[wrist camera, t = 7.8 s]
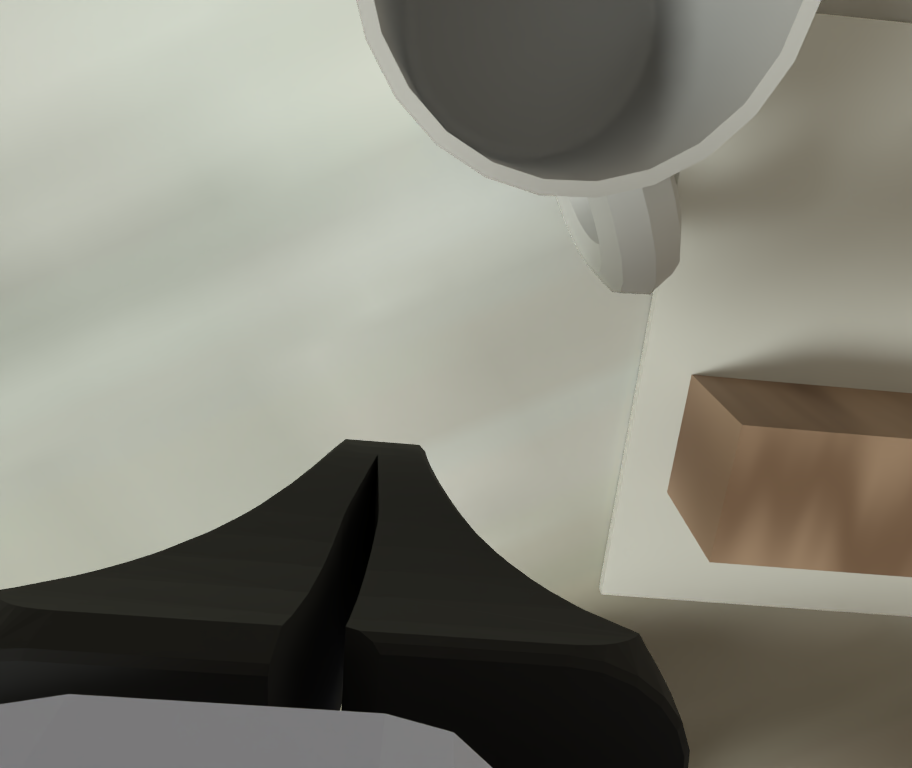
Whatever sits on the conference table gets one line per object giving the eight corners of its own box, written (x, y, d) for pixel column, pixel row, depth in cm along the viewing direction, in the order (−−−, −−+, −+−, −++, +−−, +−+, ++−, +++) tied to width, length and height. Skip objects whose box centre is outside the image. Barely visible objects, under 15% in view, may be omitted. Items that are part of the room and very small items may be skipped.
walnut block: (979, 582, 20) (709, 562, 19) (894, 509, 24) (666, 492, 23) (1030, 449, 18) (742, 425, 18) (931, 395, 22) (691, 374, 22)
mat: (1047, 619, 25) (1056, 627, 25) (598, 587, 25) (601, 594, 24) (1286, 65, 20) (1302, 64, 19) (706, 4, 19) (711, 1, 19)
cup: (623, -181, 18) (783, -466, 9) (716, 213, 21) (899, 268, 12) (349, -65, 18) (266, -232, 10) (479, 297, 22) (499, 404, 13)
